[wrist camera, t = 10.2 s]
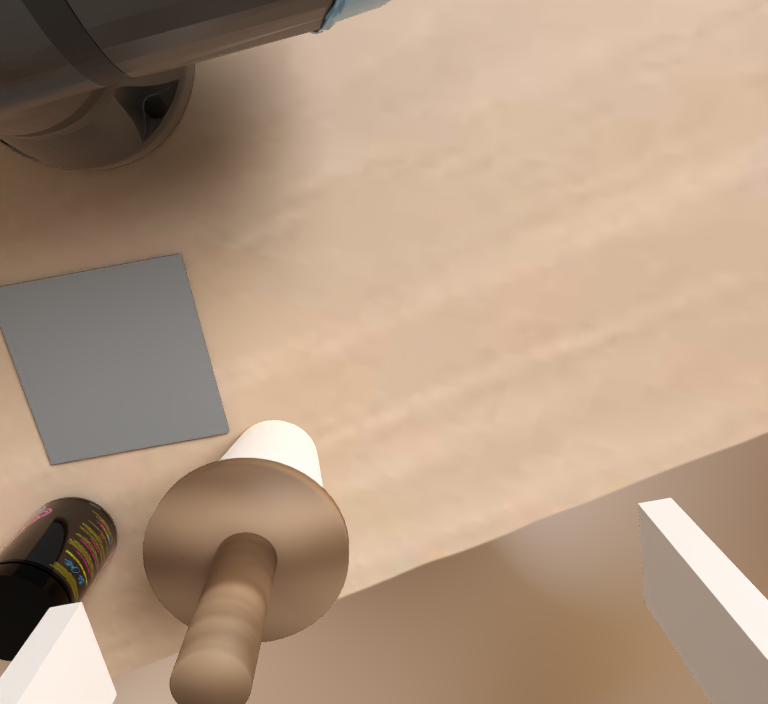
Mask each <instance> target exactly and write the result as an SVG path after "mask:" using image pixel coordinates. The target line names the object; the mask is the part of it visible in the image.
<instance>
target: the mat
mask: <svg viewBox="0 0 768 704" xmlns="http://www.w3.org/2000/svg"><path fill="white" fill-rule="evenodd" d="M0 327H1V330H2V333H3V335H4V338H5V341H6V343H7V346H8V349H9V352H10V354H11V357H12V360H13V362H14V365H15V368H16V370H17V373H18V376H19V379H20V381H21V384H22V387H23V389H24V392H25V395H26V397H27V400H28V403H29V406H30V408H31V411H32V414H33V416H34V419H35V422H36V424H37V427H38V430H39V433H40V435H41V438H42V441H43V443H44V446H45V449H46V451H47V454H48V457H49V460H50V462H51V465H53V464H58V463H64V462H69V461H75V460H80V459H86V458H91V457H97V456H103V455H108V454H114V453H119V452H125V451H130V450H136V449H141V448H147V447H152V446H158V445H164V444H169V443H175V442H180V441H186V440H191V439H197V438H202V437H208V436H213V435H219V434H225V433H229V427H228V424H227V420H226V416H225V413H224V409H223V405H222V402H221V398H220V394H219V391H218V387H217V383H216V380H215V376H214V372H213V369H212V365H211V361H210V358H209V354H208V350H207V347H206V343H205V339H204V336H203V332H202V328H201V325H200V321H199V317H198V314H197V310H196V306H195V303H194V299H193V295H192V291H191V288H190V284H189V280H188V277H187V273H186V269H185V266H184V262H183V258H182V255H181V253H180V254H175V255H169V256H164V257H158V258H153V259H147V260H142V261H137V262H131V263H126V264H120V265H115V266H109V267H104V268H99V269H93V270H88V271H82V272H77V273H71V274H66V275H61V276H55V277H50V278H44V279H39V280H33V281H28V282H23V283H17V284H12V285H6V286H1V287H0Z"/></svg>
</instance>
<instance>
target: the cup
mask: <svg viewBox="0 0 768 704" xmlns="http://www.w3.org/2000/svg"><path fill="white" fill-rule="evenodd" d="M231 458H260V459H268V460H272V461H276V462H280V463H283V464H285V465H288V466H291V467H293V468H295V469H297V470H299V471H301V472H303V473H305V474H306V475H307V476H309V477H310V478H312V479H313V480H315V481H316V482H317V483H318V484H319V485H320V486H322V487H323V484H322V479H321V473H320V467H319V461H318V455H317V450H316V447H315V445H314V443H313V441H312V440H311V438H310V437H309V436H308V434H307V433H306V432H304V431H303V430H302V429H301V428H299V427H297V426H296V425H293V424H291V423H288V422H285V421H278V420H271V421H264V422H260V423H258V424H255V425H253V426H251V427H250V428H248V429H247V430H246V431H245V432H244V433H243V434H242V435H241V436H240V437H239V438H238V439H237V441H236V442H235V443H234V444H233V445H232V446H231V447H230V449H229V450H228V451H227V452H226V453H225V454H224V455H223V457H222V458H221V459H220V460H224V459H231ZM220 460H219V461H220Z"/></svg>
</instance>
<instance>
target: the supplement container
mask: <svg viewBox="0 0 768 704" xmlns="http://www.w3.org/2000/svg"><path fill="white" fill-rule="evenodd" d="M116 543H117V531H116V526H115V524H114V521H113V520H112V518H111V516H110V515H109V514H108V513H107V511H106V510H105V509H103V508H102V507H101V506H99V505H98V504H96V503H94V502H92V501H90V500H87V499H84V498H79V497H65V498H60V499H57V500H54V501H51V502H49V503H47V504H46V505H44V506H43V507H42V508H41V509H40V510H39V511H38V512H37V513H36V514H35V515H34V516H33V518H32V519H31V520H30V521H29V522H28V523H27V524H26V525H25V526H24V527H23V528H22V529H21V530H20V532H19V533H18V534H17V535H16V536H15V537H14V538H13V539H12V540H11V541H10V542H9V543H8V544H7V546H6V547H5V548H4V549H3V550H2V551H1V552H0V659H2V660H6V661H12V660H13V659H14V658H15V656H16V655H17V653H18V652H19V650H20V649H21V648H22V646H23V645H24V643H25V642H26V640H27V639H28V638H29V636H30V635H31V633H32V632H33V631H34V629H35V628H36V626H37V625H38V623H39V622H40V621H41V619H42V618H43V616H44V615H45V613H46V612H47V611H48V609H49V608H50V607H55V606H61V605H67V604H72V603H78V602H82V601H83V599H84V598H85V596H86V594H87V593H88V591H89V590H90V588H91V587H92V585H93V583H94V582H95V580H96V579H97V577H98V576H99V574H100V572H101V571H102V569H103V568H104V566H105V565H106V563H107V561H108V560H109V558H110V557H111V555H112V554H113V552H114V550H115V547H116Z"/></svg>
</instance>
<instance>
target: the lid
mask: <svg viewBox="0 0 768 704" xmlns="http://www.w3.org/2000/svg"><path fill="white" fill-rule="evenodd" d="M143 559H144V567H145V571H146V575H147V578H148V580H149V583H150V585H151V587H152V589H153V591H154V592H155V594H156V596H157V597H158V599H159V600H160V601H161V603H162V604H163V605H164V606H165V608H166V609H167V610H169V611H170V612H171V613H172V614H173V615H174V616H175V617H176V618H177V619H179V620H180V621H181V622H183V623H184V624H186V625H187V626H189V628H188V631H187V633H186V636H185V639H184V641H183V644H182V647H181V650H180V652H179V655H178V658H177V660H176V663H175V666H174V669H173V671H172V674H171V677H170V691H171V694H172V696H173V698H174V699H175V701H176V702H177V703H178V704H245V703H246V702H247V700H248V698H249V696H250V693H251V689H252V683H253V679H254V674H255V669H256V664H257V659H258V655H259V650H260V645H261V642H267V641H273V640H278V639H282V638H285V637H288V636H291V635H293V634H296V633H298V632H300V631H302V630H304V629H305V628H307V627H308V626H310V625H312V624H313V623H315V622H316V621H317V620H318V619H319V618H320V617H322V616H323V615H324V614H325V613H326V612H327V611H328V610H329V608H330V607H331V606H332V605H333V604H334V602H335V601H336V599H337V598H338V596H339V594H340V592H341V590H342V588H343V586H344V583H345V579H346V576H347V571H348V564H349V538H348V532H347V527H346V524H345V521H344V518H343V516H342V514H341V512H340V510H339V508H338V506H337V505H336V503H335V502H334V500H333V498H332V497H331V496H330V495H329V494H328V493H327V491H326V490H325V489H324V488H323V487H322V486H320V485H319V484H318V483H317V482H316V481H315V480H313V479H312V478H310V477H309V476H307V475H306V474H305V473H303V472H301V471H299V470H297V469H295V468H293V467H291V466H288V465H285V464H283V463H280V462H276V461H272V460H268V459H260V458H231V459H224V460H220V461H216V462H212V463H210V464H207V465H204V466H202V467H199V468H198V469H196V470H194V471H192V472H190V473H188V474H187V475H186V476H184V477H183V478H181V479H180V480H179V481H178V482H177V483H176V484H175V485H173V486H172V487H171V488H170V489H169V491H168V492H167V493H166V495H165V496H164V497H163V498H162V500H161V502H160V503H159V505H158V507H157V508H156V510H155V512H154V514H153V516H152V517H151V519H150V521H149V524H148V527H147V529H146V533H145V538H144V542H143Z"/></svg>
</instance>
